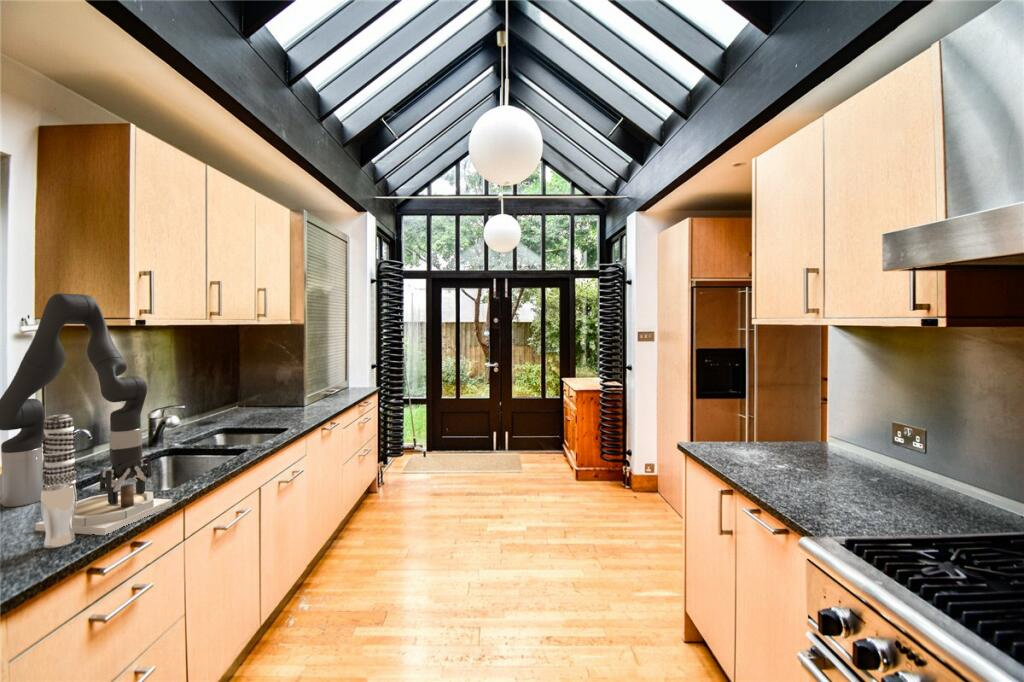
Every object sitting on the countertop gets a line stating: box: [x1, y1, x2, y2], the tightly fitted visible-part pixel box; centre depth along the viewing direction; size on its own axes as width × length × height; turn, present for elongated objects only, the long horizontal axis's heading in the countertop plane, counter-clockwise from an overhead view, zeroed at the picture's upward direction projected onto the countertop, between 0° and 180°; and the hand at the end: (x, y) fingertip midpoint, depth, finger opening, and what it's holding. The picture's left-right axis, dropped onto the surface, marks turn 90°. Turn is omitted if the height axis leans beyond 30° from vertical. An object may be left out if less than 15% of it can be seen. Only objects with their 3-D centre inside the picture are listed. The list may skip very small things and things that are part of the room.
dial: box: [75, 483, 144, 516], centre depth 143 cm, size 17×17×8 cm
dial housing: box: [35, 490, 173, 536], centre depth 143 cm, size 22×22×4 cm
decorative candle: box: [42, 413, 77, 487], centre depth 173 cm, size 9×9×25 cm
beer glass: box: [39, 482, 78, 549], centre depth 126 cm, size 7×7×15 cm
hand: (127, 498), depth 142 cm, fingers open, 8 cm apart
